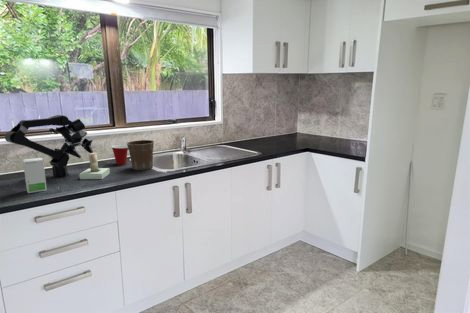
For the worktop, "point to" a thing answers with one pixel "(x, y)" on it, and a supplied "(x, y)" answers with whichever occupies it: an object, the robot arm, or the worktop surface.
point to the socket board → (94, 173)
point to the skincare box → (34, 175)
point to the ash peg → (93, 162)
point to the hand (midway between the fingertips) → (86, 155)
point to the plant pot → (141, 154)
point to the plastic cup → (120, 154)
